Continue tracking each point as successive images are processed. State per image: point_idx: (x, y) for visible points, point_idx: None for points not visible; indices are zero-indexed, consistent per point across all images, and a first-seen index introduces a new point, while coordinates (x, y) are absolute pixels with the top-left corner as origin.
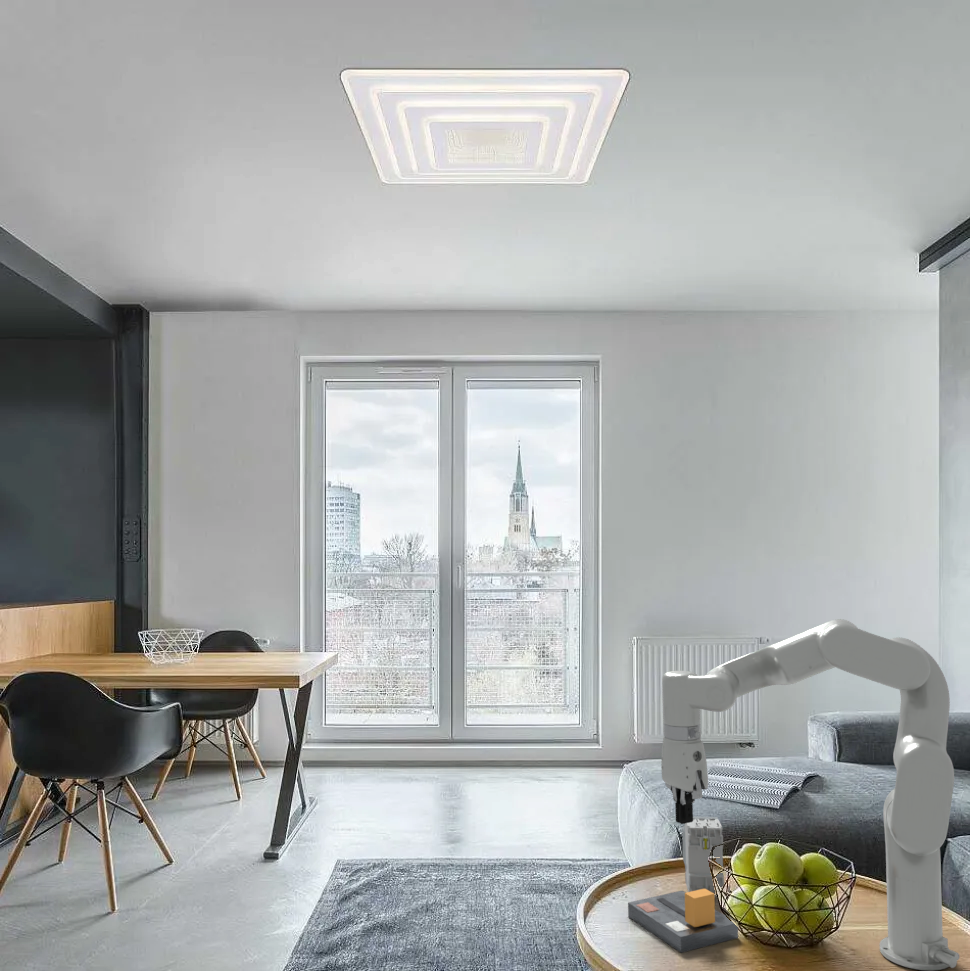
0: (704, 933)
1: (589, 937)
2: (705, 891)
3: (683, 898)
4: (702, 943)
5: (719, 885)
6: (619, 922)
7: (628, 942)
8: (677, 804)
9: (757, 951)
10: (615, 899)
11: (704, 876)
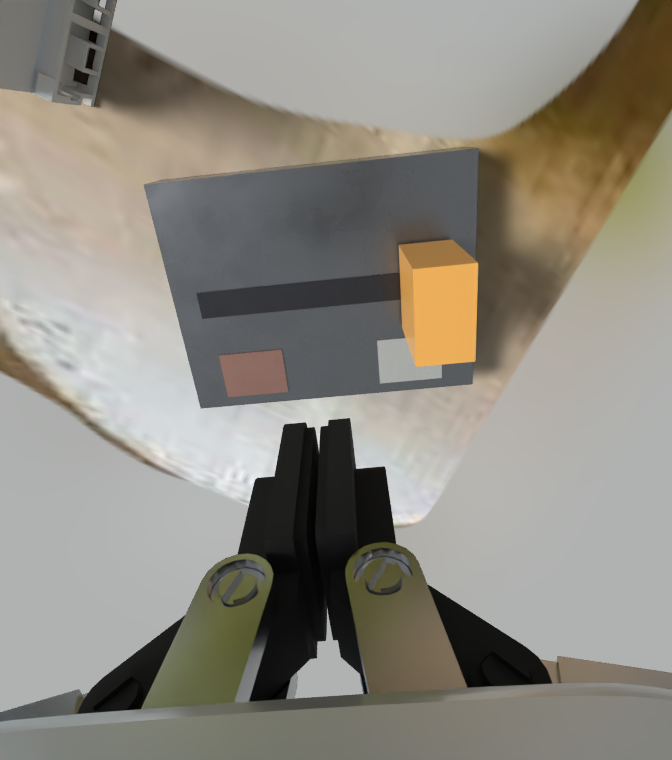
0: None
1: None
2: (440, 284)
3: (218, 222)
4: None
5: None
6: (236, 421)
7: None
8: (317, 640)
9: (570, 143)
10: (80, 366)
11: (66, 26)
